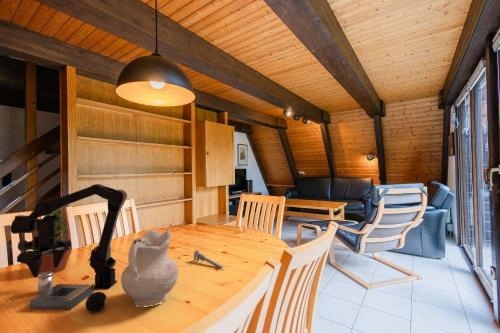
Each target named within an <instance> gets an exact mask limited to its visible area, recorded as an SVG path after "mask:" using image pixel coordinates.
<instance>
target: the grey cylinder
mask: <svg viewBox="0 0 500 333" xmlns="http://www.w3.org/2000/svg"><path fill="white" fill-rule="evenodd" d="M53 281H54V273H53V271H47V272H42V273H40V274H38V277H37V294H38V295H40V294H42V293H43V292H45V291H47V290H49V289H50V288H52V287H54V282H53Z"/></svg>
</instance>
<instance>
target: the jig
mask: <svg viewBox="0 0 500 333" xmlns="http://www.w3.org/2000/svg"><path fill="white" fill-rule="evenodd" d="M94 286H95V283H90V284H82V283H81V284H80V283H79V284H75V283H73V284H72V283H70V284H69V283H58V284H56V285H53V287H52V288H50V289H49V290H47V291H45V292H43V293H42V294H38V295H36V296H35V297H33V298H31V299H29V310H49V311H50V310H53V311H71V310H72V309H73V308H75V307H76V306H78V305H79V304H80V303H81V302H83V301H85V299H86V300H87V298H88V297H89V296H90V295H91V294H93V293H94Z"/></svg>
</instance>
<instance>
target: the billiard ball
mask: <svg viewBox="0 0 500 333" xmlns="http://www.w3.org/2000/svg"><path fill="white" fill-rule="evenodd" d="M107 301H108V299H107V295H106V294H105V292H102V291H96V292H93V293H92V294H91V295H90V296H88V297H87V298H86V300H85V308H86V311H88V312H90V313H97V312H100V311H101V310H103V309H104V307H105V306H106V304H107Z"/></svg>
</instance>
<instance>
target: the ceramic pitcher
mask: <svg viewBox="0 0 500 333" xmlns="http://www.w3.org/2000/svg"><path fill="white" fill-rule="evenodd" d="M171 231H172V230H171V229H165V232H164V233H162V232H160V231H159V230H153V229H152V230H151V229H150V230H148V231H146V232H145V233H144V234H143V235H142V237H141V238H140V237H138V238H133V241H132V243H131V245H130V247H129V251H128V254H127V255H128V258H127V259H128V265H127V266H126V267H125V268H124V270H123V271H122V272H121V275H120V276H121V277H120V283H121V287H122V290H123V292H124V293H125V294H126V296H128V297H130V298H131V299H132V300H133V305H134V304H135V305H137V306H141V307H140V308H143V307H144V306H150V305H155V304H157V303H160V302H163V301H164V300H165V299H166V300H167V298H168V296H167V293H168V294H169V293H170V292H171V291H172V289H173V288H174V287H175V285H176V283H177V281H178V278H179V267H178V264H177V263H176V261H175V260H173V259H171V258H170V257H169V256H168V248H169V246H170V244H171V238H172V237H171V236H172V233H171ZM166 297H167V298H166ZM166 300H165V301H166ZM165 301H164V302H165ZM164 302H163V303H164ZM135 305H134V306H135Z"/></svg>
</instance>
